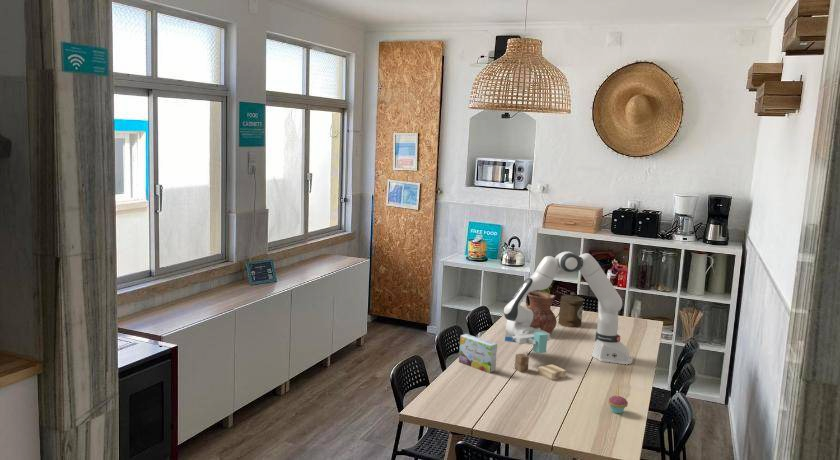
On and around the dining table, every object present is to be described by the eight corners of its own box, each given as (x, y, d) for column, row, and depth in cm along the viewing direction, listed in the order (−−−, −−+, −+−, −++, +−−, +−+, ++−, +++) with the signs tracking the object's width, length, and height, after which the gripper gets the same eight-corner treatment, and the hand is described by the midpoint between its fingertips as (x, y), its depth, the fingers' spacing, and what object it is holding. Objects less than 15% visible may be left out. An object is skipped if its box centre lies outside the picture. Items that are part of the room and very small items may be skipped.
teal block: (540, 349, 361) (541, 331, 359) (546, 352, 356) (547, 334, 355) (532, 350, 358) (534, 332, 357) (538, 353, 354) (539, 335, 353)
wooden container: (583, 328, 435) (586, 295, 432) (560, 326, 435) (563, 294, 432) (578, 321, 450) (581, 290, 447) (556, 320, 450) (559, 288, 447)
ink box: (518, 342, 398) (520, 323, 396) (504, 340, 400) (506, 321, 398) (519, 338, 406) (521, 319, 405) (505, 336, 408) (507, 318, 406)
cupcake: (604, 407, 308) (607, 382, 306) (622, 407, 309) (625, 383, 307) (611, 415, 299) (614, 390, 298) (629, 415, 300) (632, 390, 298)
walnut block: (522, 367, 354) (523, 353, 353) (527, 371, 350) (529, 356, 349) (514, 368, 352) (515, 354, 351) (519, 372, 348) (521, 357, 347)
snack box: (457, 362, 357) (459, 335, 355) (464, 360, 362) (466, 333, 359) (489, 373, 343) (491, 345, 341) (496, 371, 347) (498, 343, 345)
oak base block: (551, 371, 353) (552, 364, 352) (565, 377, 344) (566, 370, 344) (537, 374, 347) (538, 366, 347) (551, 380, 339) (551, 373, 338)
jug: (560, 332, 423) (563, 294, 419) (547, 340, 405) (551, 300, 402) (528, 325, 435) (531, 288, 431) (514, 332, 417) (517, 293, 413)
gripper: (510, 330, 363) (525, 338, 351) (541, 327, 372) (556, 334, 360) (510, 342, 364) (524, 349, 352) (540, 338, 373) (555, 345, 361)
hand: (541, 342), depth 356 cm, fingers closed on teal block, 5 cm apart
